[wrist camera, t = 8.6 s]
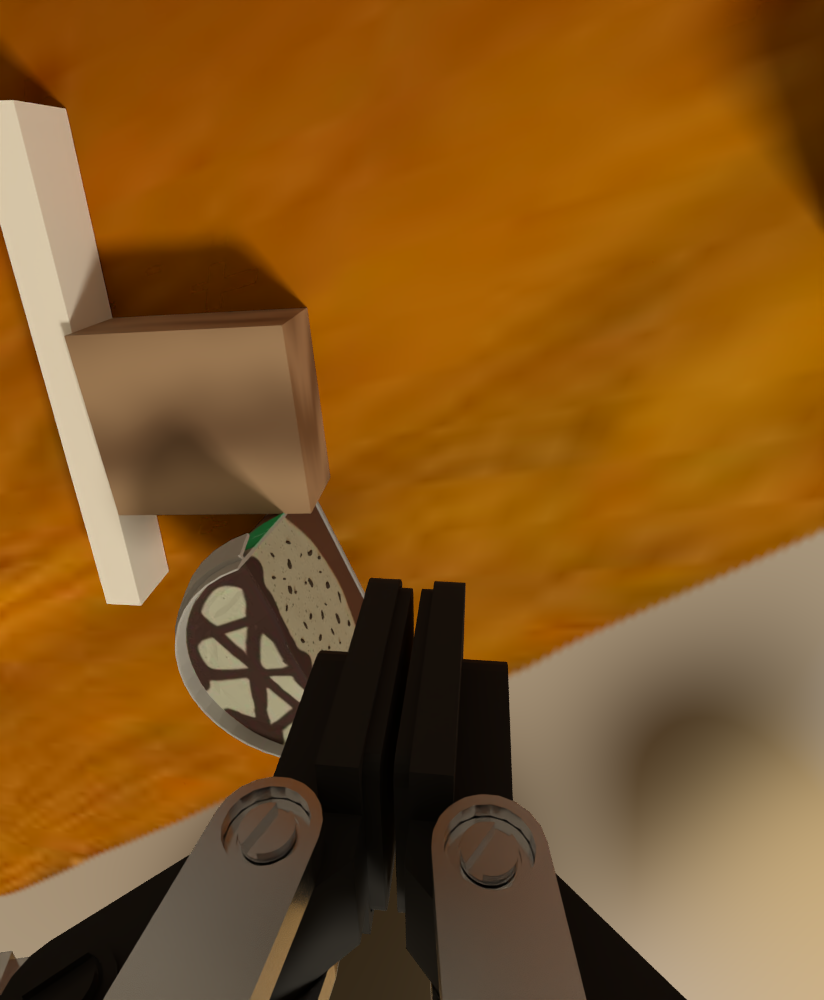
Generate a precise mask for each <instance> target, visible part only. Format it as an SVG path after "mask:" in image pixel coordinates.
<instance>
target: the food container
mask: <svg viewBox="0 0 824 1000" xmlns="http://www.w3.org/2000/svg"><path fill="white" fill-rule="evenodd" d="M364 595H365V592H364V591H363V589H362V587H361V585H360V583H359V581H358V579H357V577H356V575H355V573H354V571H353V569H352V567H351V565H350V563H349V561H348V559H347V557H346V555H345V553H344V551H343V549H342V547H341V545H340V543H339V541H338V540H337V538H336V536H335V534H334V532H333V530H332V528H331V526H330V524H329V522H328V520H327V518H326V516H325V514H324V512H323V510H322V508H321V506H320V504H319V502H318V501H317V503H316V505H315V507H314V509H313V511H312V513H304V514H284V513H282V514H267V515H266V516H265V517H264V518H263V519H262V520H261V521H260V522H259V523H258V525H257V526H256V527H255V528H254V529H253V530H252V531H251V532H250V533H249V534H248V533H246V534H244V535H242V536H239V537H237V538H235V539H232V540H230V541H229V542H227V543H225V544H224V545H222V546H221V547H219V548H218V549H216V550H215V551H214V552H213V553H212V554H210V555H209V556H208V557H207V558H206V559H205V560H204V561H203V562H202V563H201V565H200V566H199V567H198V569H197V570H196V572H195V573H194V575H193V576H192V578H191V580H190V583H189V585H188V587H187V590H186V592H185V595H184V598H183V600H182V603H181V606H180V609H179V612H178V617H177V622H176V627H175V655H176V660H177V665H178V669H179V672H180V675H181V677H182V680H183V682H184V685H185V686H186V688H187V690H188V691H189V693H190V695H191V696H192V698H193V700H194V701H195V702H196V703H197V705H198V706H199V707H200V708H201V710H202V711H203V712H204V713H205V714H206V715H207V716H208V717H209V718H210V719H211V720H212V721H213V722H214V723H215V724H216V725H218V726H219V727H220V728H222V729H223V730H224V731H226V732H227V733H228V734H230V735H231V736H233V737H235V738H236V739H238V740H240V741H241V742H243V743H245V744H247V745H249V746H251V747H253V748H256V749H258V750H260V751H262V752H265V753H268V754H271V755H274V756H277V757H281V754H282V751H283V748H284V745H285V743H286V740H287V737H288V734H289V731H290V728H291V726H292V723H293V720H294V717H295V714H296V712H297V709H298V706H299V703H300V700H301V698H302V695H303V692H304V689H305V686H306V684H307V681H308V678H309V675H310V672H311V670H312V667H313V664H314V661H315V659H316V656H317V654H318V653H319V652H320V651H321V650H327V651H343V652H348V650H349V646H350V643H351V639H352V636H353V633H354V629H355V626H356V622H357V619H358V616H359V612H360V609H361V605H362V602H363V599H364Z"/></svg>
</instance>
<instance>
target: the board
mask: <svg viewBox="0 0 824 1000" xmlns="http://www.w3.org/2000/svg"><path fill="white" fill-rule="evenodd" d="M0 225H1V229H2V232H3V236H4V239H5V243H6V246H7V250H8V253H9V257H10V261H11V264H12V268H13V271H14V275H15V278H16V282H17V285H18V289H19V293H20V296H21V300H22V303H23V307H24V310H25V314H26V317H27V321H28V324H29V328H30V332H31V335H32V339H33V342H34V346H35V349H36V353H37V356H38V360H39V364H40V367H41V371H42V374H43V378H44V381H45V385H46V388H47V392H48V396H49V399H50V403H51V406H52V410H53V413H54V417H55V420H56V424H57V428H58V431H59V435H60V438H61V442H62V445H63V449H64V452H65V456H66V460H67V463H68V467H69V470H70V474H71V477H72V481H73V484H74V488H75V492H76V495H77V499H78V502H79V506H80V509H81V513H82V516H83V520H84V523H85V527H86V531H87V534H88V538H89V541H90V545H91V548H92V552H93V555H94V559H95V563H96V566H97V570H98V573H99V577H100V580H101V584H102V587H103V591H104V595H105V598H106V602H107V604H123V605H142V604H143V602H144V601H145V600H146V599H147V597H148V596H149V595H150V594H151V592H152V591H153V590H154V589H155V588H156V586H157V585H158V584H159V583H160V581H161V580H162V579H163V578H164V576H165V575H166V574H167V573H168V572H169V570H168V565H167V561H166V556H165V552H164V547H163V543H162V538H161V534H160V529H159V525H158V520H157V516H156V515H118V511H117V508H116V505H115V501H114V498H113V495H112V492H111V488H110V485H109V482H108V478H107V475H106V472H105V469H104V465H103V462H102V459H101V455H100V452H99V449H98V446H97V442H96V439H95V436H94V433H93V429H92V426H91V423H90V419H89V416H88V413H87V410H86V406H85V403H84V400H83V396H82V393H81V390H80V387H79V383H78V380H77V377H76V373H75V370H74V367H73V364H72V360H71V357H70V354H69V350H68V347H67V344H66V341H65V337H64V336H65V335H68V334H71V333H73V332H76V331H79V330H81V329H84V328H87V327H90V326H92V325H95V324H98V323H100V322H103V321H106V320H109V319H111V318H112V314H111V309H110V305H109V300H108V296H107V291H106V287H105V282H104V278H103V273H102V269H101V264H100V260H99V255H98V251H97V246H96V242H95V237H94V233H93V228H92V224H91V220H90V215H89V211H88V206H87V202H86V197H85V193H84V188H83V184H82V179H81V175H80V170H79V166H78V161H77V157H76V152H75V148H74V143H73V139H72V134H71V130H70V125H69V121H68V116H67V112H66V109H65V108H59V107H53V106H47V105H40V104H34V103H28V102H22V101H16V100H1V101H0Z"/></svg>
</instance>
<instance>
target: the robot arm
mask: <svg viewBox="0 0 824 1000" xmlns="http://www.w3.org/2000/svg"><path fill="white" fill-rule="evenodd" d="M464 615H465V583H458V582H438V581H435V582H434V588H433V589H422V591H421V597H420V603H419V610H418V616H417V622H416V628H415V634H414V612H413V589H412V588H402V581H401V580H400V579H381V578H370V579H369V582H368V585H367V588H366V592H365V595H364V599H363V602H362V605H361V609H360V612H359V616H358V619H357V622H356V626H355V629H354V633H353V636H352V639H351V643H350V646H349V650H348V652H343V651H327V650H321V651H320V652H319V653H318V654H317V656H316V659H315V661H314V664H313V667H312V670H311V672H310V675H309V678H308V681H307V684H306V686H305V689H304V692H303V695H302V698H301V700H300V703H299V706H298V709H297V712H296V714H295V717H294V720H293V723H292V726H291V728H290V731H289V734H288V737H287V740H286V743H285V745H284V748H283V751H282V754H281V757H280V759H279V762H278V765H277V768H276V771H275V773H274V776H273V777H269V778H263V779H258V780H255V781H253V782H251V783H249V784H246V785H244V786H242V787H240V788H239V789H238V790H236V791H235V792H234V793H232V794H231V795H230V796H228V797H227V798H226V799H225V801H224V802H223V803H222V804H221V806H220V807H219V808H218V809H217V811H216V812H215V814H214V815H213V817H212V819H211V821H210V822H209V824H208V826H207V827H206V829H205V830H204V832H203V834H202V835H201V837H200V839H199V840H198V842H197V844H196V845H195V847H194V849H193V850H192V852H191V854H190V855H189V856H187V857H185V858H184V859H182V860H180V861H179V862H177V863H175V864H174V865H172V866H171V867H169V868H167V869H166V870H164V871H162V872H161V873H160V874H158V875H156V876H154V877H153V878H151V879H150V880H148V881H146V882H145V883H143V884H141V885H140V886H138V887H137V888H135V889H133V890H132V891H130V892H129V893H127V894H125V895H124V896H122V897H120V898H119V899H117V900H116V901H114V902H112V903H111V904H109V905H108V906H106V907H104V908H103V909H101V910H99V911H98V912H96V913H95V914H93V915H91V916H90V917H88V918H87V919H85V920H83V921H82V922H80V923H79V924H77V925H75V926H74V927H72V928H71V929H69V930H67V931H66V932H64V933H63V934H61V935H59V936H57V937H56V938H54V939H53V940H51V941H49V942H48V943H47V944H46V945H44V946H43V947H42V948H40V949H39V950H38V951H36V952H35V953H34V954H32V955H31V956H30V957H25V958H18V959H16V958H15V956H14V954H13V952H12V951H9V952H1V953H0V1000H329V997H330V994H331V991H332V988H333V985H334V982H335V979H336V974H337V969H338V963H339V960H341V959H342V958H343V957H344V956H346V955H347V954H348V953H349V952H350V951H352V950H353V949H354V948H355V947H356V946H358V945H359V944H360V941H361V935H362V933H364V934H370V932H371V926H372V919H373V913H374V910H384V911H386V910H387V907H388V901H389V895H390V888H391V881H392V873H393V866H394V859H395V852H396V877H397V905H398V912H403V913H405V914H406V915H405V917H406V949H407V950H408V951H409V953H410V954H411V956H412V957H413V958H414V960H415V961H416V962H417V964H418V965H419V966H420V968H421V969H422V970H423V972H424V973H425V974H426V976H427V977H428V978H429V980H430V981H431V1000H686V999H685V998H684V997H683V996H682V995H681V994H680V993H679V992H678V991H677V990H676V989H675V988H674V987H673V986H672V985H671V984H670V983H669V982H668V981H667V980H666V979H665V978H664V977H662V976H661V975H660V974H659V973H658V972H657V971H656V970H655V969H654V968H653V967H652V966H651V965H650V964H649V963H648V962H647V961H646V960H645V959H644V958H643V957H642V956H641V955H640V954H639V953H638V952H637V951H635V950H634V949H633V948H632V947H631V946H630V945H629V944H628V943H627V942H626V941H625V940H624V939H623V938H622V937H621V936H620V935H619V934H618V933H617V932H616V931H615V930H613V928H612V927H611V926H609V924H608V923H606V922H605V921H604V920H603V919H602V918H601V917H600V916H599V915H598V914H597V913H596V912H595V911H594V910H593V909H592V908H591V907H590V906H589V905H588V904H587V903H586V902H585V901H584V900H583V899H582V898H581V897H579V895H577V894H576V893H575V892H574V891H573V890H572V889H571V888H570V887H569V886H568V885H567V884H566V883H565V882H564V881H563V880H562V879H561V878H560V877H559V876H558V875H557V874H556V873H555V871H554V866H553V862H552V858H551V855H550V850H549V846H548V842H547V840H546V837H545V835H544V832H543V830H542V828H541V825H540V824H539V823H538V822H537V821H536V819H535V818H534V817H533V816H532V815H531V813H530V812H529V811H527V810H526V809H525V808H523V807H522V806H520V805H519V804H517V803H516V802H514V801H513V796H512V771H511V770H512V768H511V742H510V741H511V740H510V714H509V690H508V689H509V687H508V665H507V662H499V661H483V660H468V659H463V645H464Z"/></svg>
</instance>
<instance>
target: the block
mask: <svg viewBox="0 0 824 1000" xmlns="http://www.w3.org/2000/svg"><path fill="white" fill-rule="evenodd" d="M64 337H65V341H66V344H67V347H68V350H69V354H70V357H71V360H72V364H73V367H74V370H75V373H76V377H77V380H78V383H79V387H80V390H81V393H82V396H83V400H84V403H85V406H86V410H87V413H88V416H89V419H90V423H91V426H92V429H93V433H94V436H95V439H96V442H97V446H98V449H99V452H100V455H101V459H102V462H103V465H104V469H105V472H106V475H107V478H108V482H109V485H110V488H111V492H112V495H113V498H114V501H115V505H116V508H117V511H118V515H208V514H282V513H284V514H304V513H312V511H313V509H314V507H315V505H316V503H317V501H318V500H319V498H320V496H321V494H322V492H323V490H324V488H325V486H326V485H327V483H328V481H329V479H330V472H329V465H328V457H327V450H326V443H325V435H324V428H323V421H322V413H321V406H320V399H319V391H318V384H317V377H316V369H315V362H314V355H313V347H312V340H311V333H310V325H309V318H308V311H307V308H289V309H270V310H251V311H232V312H213V313H194V314H175V315H156V316H137V317H118V318H111V319H109V320H106V321H103V322H100V323H98V324H95V325H92V326H90V327H87V328H84V329H81V330H79V331H76V332H73V333H71V334H68V335H65V336H64Z"/></svg>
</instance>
